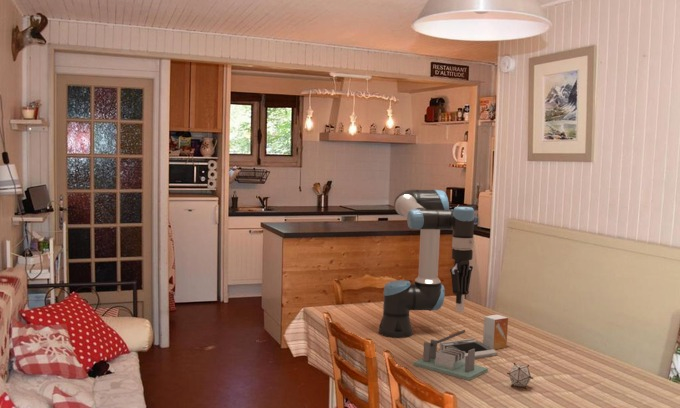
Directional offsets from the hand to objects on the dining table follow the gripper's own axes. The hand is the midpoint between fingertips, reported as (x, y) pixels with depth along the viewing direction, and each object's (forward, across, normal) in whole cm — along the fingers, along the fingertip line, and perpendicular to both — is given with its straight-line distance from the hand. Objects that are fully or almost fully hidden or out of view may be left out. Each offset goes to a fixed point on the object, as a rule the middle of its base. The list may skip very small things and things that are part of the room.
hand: (459, 311), depth 247 cm
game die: (+23, 0, -25) cm, 33 cm away
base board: (+22, 0, +3) cm, 23 cm away
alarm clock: (+23, +23, +8) cm, 34 cm away
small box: (+22, +38, +4) cm, 45 cm away
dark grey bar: (+12, 0, +5) cm, 13 cm away
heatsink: (+22, 0, +3) cm, 23 cm away
